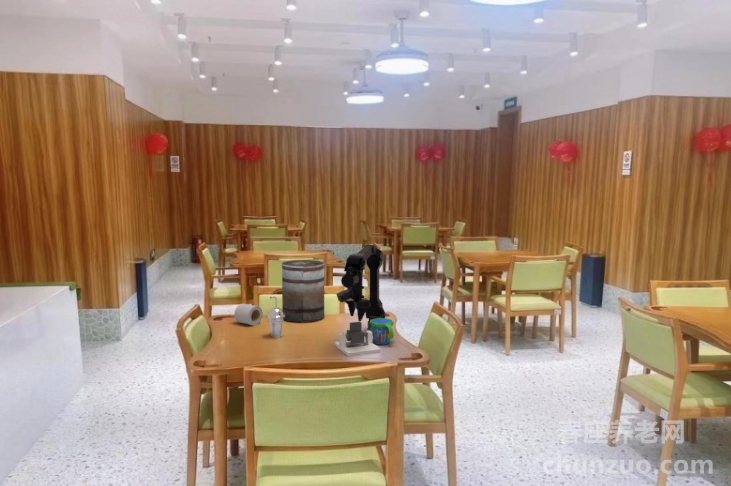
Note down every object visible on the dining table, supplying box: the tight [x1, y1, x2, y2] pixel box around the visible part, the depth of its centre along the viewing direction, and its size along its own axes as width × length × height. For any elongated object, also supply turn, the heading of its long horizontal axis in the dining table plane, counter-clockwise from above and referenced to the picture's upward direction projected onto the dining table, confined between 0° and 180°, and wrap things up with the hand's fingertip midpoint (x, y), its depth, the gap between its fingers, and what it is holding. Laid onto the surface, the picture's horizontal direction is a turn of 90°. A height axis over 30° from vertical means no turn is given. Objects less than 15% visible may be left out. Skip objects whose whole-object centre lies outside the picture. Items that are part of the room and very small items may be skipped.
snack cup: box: [370, 317, 394, 345], centre depth 225 cm, size 16×10×10 cm
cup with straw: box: [266, 296, 285, 339], centre depth 232 cm, size 8×9×20 cm
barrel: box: [281, 259, 325, 324], centre depth 266 cm, size 22×22×30 cm
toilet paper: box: [233, 303, 263, 327], centre depth 254 cm, size 10×10×10 cm
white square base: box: [334, 330, 382, 357], centre depth 216 cm, size 15×16×6 cm
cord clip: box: [346, 321, 365, 344], centre depth 217 cm, size 6×6×8 cm
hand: (355, 318), depth 217 cm, fingers open, 9 cm apart
